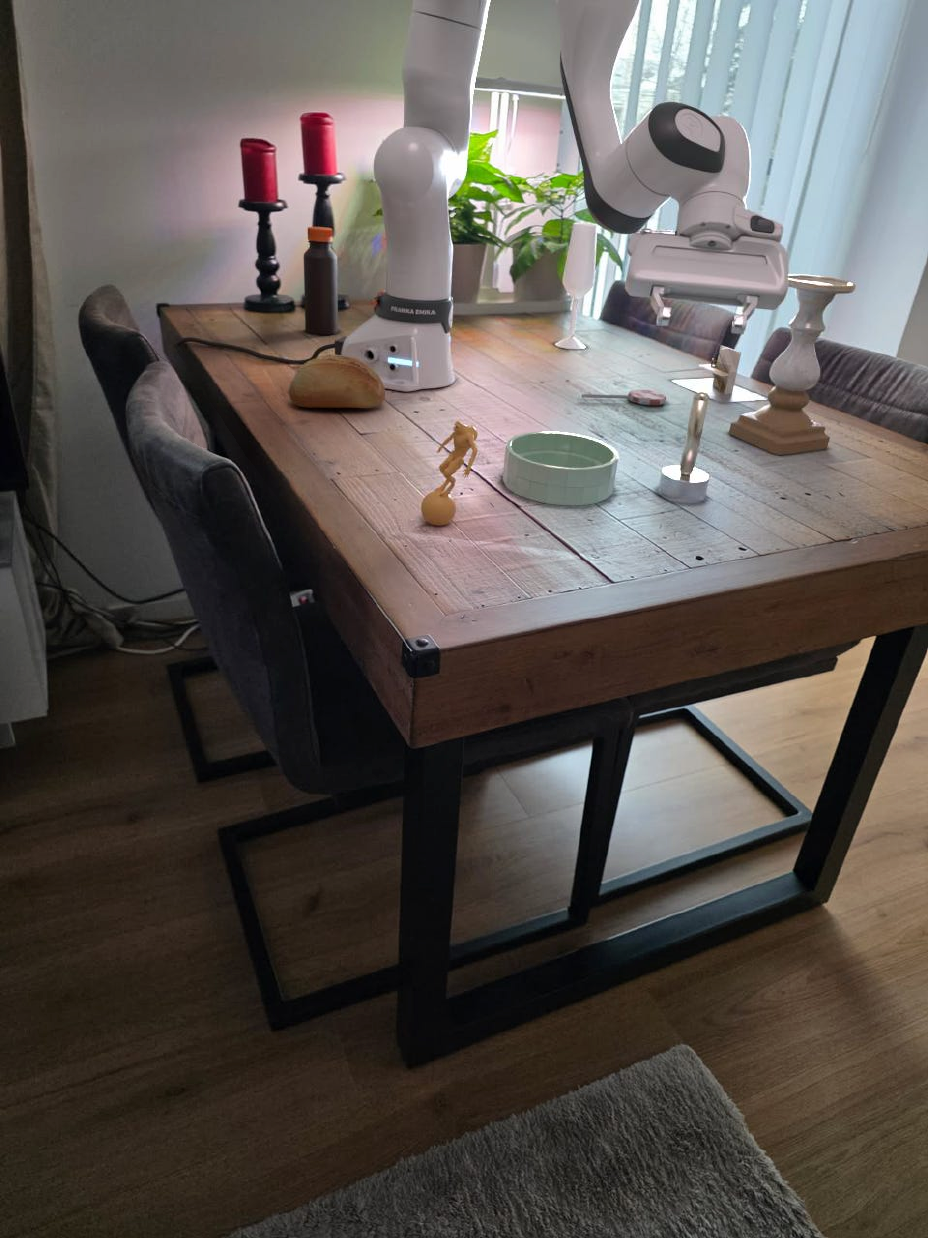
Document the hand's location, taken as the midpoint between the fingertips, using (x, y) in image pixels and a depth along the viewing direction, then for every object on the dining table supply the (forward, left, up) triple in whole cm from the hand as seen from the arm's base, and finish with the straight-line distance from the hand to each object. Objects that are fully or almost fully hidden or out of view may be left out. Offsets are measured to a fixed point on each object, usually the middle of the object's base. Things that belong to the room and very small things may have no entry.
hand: (700, 327), depth 108 cm
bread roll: (-51, +13, -20) cm, 57 cm away
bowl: (-15, -10, -20) cm, 27 cm away
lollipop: (-6, +35, -20) cm, 41 cm away
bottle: (-69, +64, -20) cm, 97 cm away
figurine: (-27, -26, -20) cm, 42 cm away
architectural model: (+12, +50, -20) cm, 55 cm away
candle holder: (+18, +21, -20) cm, 34 cm away
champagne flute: (-17, +75, -20) cm, 80 cm away
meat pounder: (+1, -8, -20) cm, 21 cm away
